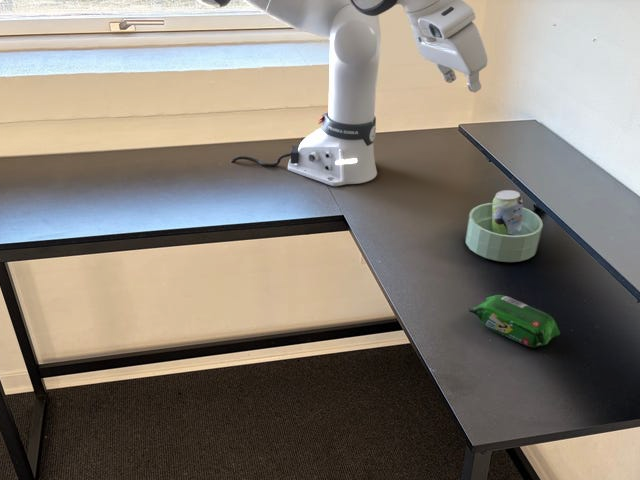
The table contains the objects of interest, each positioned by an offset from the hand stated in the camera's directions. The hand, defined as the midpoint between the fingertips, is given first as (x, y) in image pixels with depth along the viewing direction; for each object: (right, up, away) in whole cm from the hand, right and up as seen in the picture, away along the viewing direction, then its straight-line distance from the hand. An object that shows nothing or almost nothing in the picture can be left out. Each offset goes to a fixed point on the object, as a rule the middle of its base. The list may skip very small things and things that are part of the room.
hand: (463, 85), depth 134 cm
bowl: (+11, -26, +23) cm, 36 cm away
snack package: (+8, -46, -2) cm, 46 cm away
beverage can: (+12, -26, +22) cm, 36 cm away
